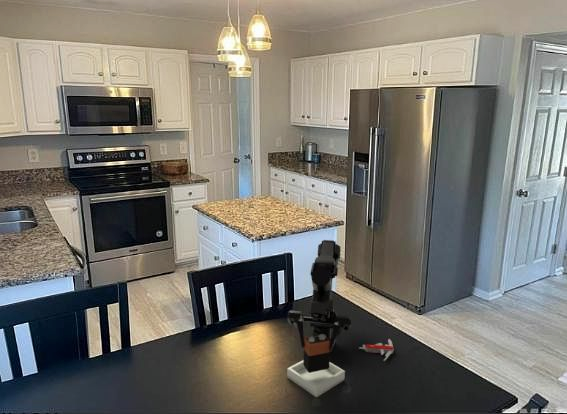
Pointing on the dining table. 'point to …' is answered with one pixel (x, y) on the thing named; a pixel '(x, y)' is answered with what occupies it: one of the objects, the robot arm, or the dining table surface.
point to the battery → (316, 353)
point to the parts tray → (315, 378)
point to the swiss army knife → (379, 348)
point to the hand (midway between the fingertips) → (316, 349)
